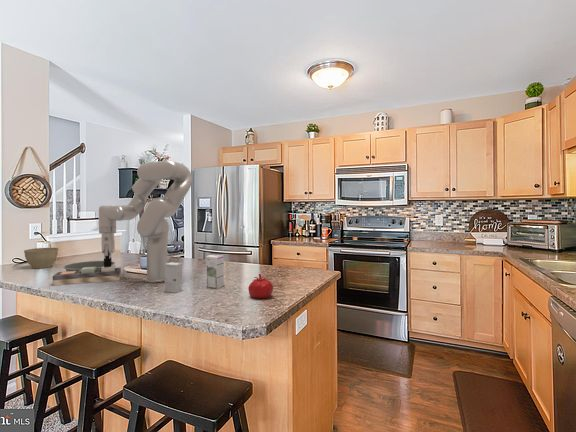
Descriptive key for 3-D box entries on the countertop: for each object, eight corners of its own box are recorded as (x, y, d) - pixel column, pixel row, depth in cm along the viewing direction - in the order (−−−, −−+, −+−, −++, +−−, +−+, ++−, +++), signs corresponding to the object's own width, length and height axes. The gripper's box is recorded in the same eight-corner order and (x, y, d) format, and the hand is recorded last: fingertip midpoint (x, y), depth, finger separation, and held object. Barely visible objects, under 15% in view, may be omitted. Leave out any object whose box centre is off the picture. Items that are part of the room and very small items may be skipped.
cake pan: (77, 279, 158) (77, 270, 158) (54, 273, 171) (54, 265, 170) (124, 270, 179) (124, 263, 179) (101, 266, 192) (101, 259, 191)
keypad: (120, 276, 164) (120, 267, 164) (119, 280, 155) (118, 271, 155) (58, 281, 153) (58, 271, 153) (52, 285, 144) (52, 276, 144)
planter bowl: (17, 269, 181) (16, 250, 181) (43, 264, 197) (42, 247, 197) (40, 270, 178) (40, 251, 178) (65, 265, 194) (64, 247, 194)
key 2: (115, 269, 161) (115, 265, 161) (114, 271, 156) (114, 267, 156) (102, 269, 159) (102, 266, 159) (101, 272, 154) (101, 268, 153)
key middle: (96, 270, 157) (96, 266, 157) (94, 272, 152) (94, 268, 152) (83, 271, 155) (83, 267, 155) (80, 273, 150) (80, 269, 150)
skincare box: (164, 291, 134) (163, 263, 133) (171, 289, 138) (170, 262, 138) (176, 293, 132) (175, 264, 132) (182, 290, 136) (182, 262, 136)
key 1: (76, 275, 154) (76, 271, 154) (73, 277, 149) (73, 273, 149) (62, 276, 152) (62, 271, 152) (59, 278, 147) (59, 274, 147)
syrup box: (224, 286, 144) (224, 254, 143) (216, 289, 138) (216, 256, 138) (214, 284, 146) (214, 253, 146) (206, 287, 141) (206, 255, 140)
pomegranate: (263, 302, 120) (263, 278, 120) (243, 297, 125) (243, 275, 125) (277, 295, 129) (277, 273, 128) (258, 291, 134) (258, 270, 133)
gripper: (114, 231, 151) (114, 268, 152) (117, 229, 165) (117, 263, 166) (96, 231, 148) (96, 269, 149) (101, 229, 162) (101, 264, 162)
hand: (107, 266), depth 157 cm, fingers closed
